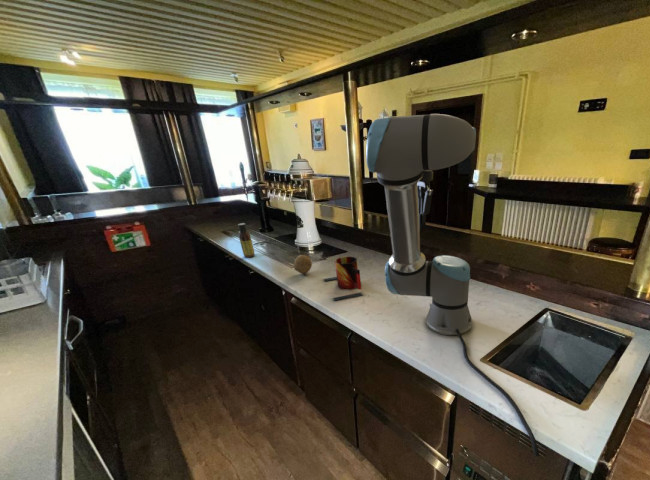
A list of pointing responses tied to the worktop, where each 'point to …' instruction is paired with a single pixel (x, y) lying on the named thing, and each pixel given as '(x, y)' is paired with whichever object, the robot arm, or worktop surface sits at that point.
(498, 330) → the worktop surface
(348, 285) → the mug
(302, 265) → the natural sponge
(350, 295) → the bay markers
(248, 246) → the sauce bottle
